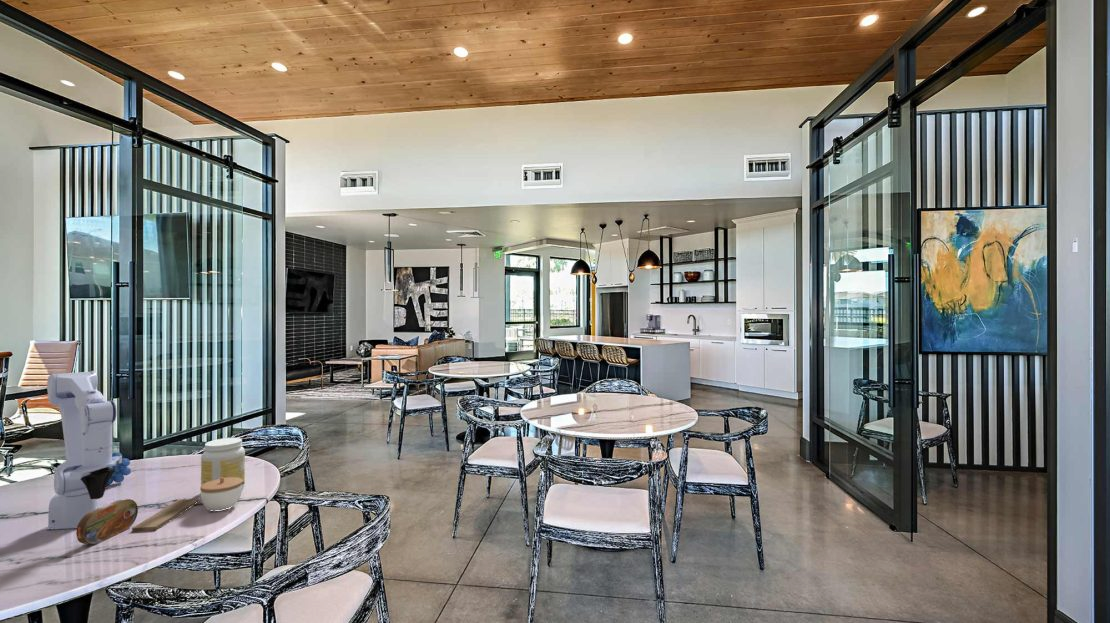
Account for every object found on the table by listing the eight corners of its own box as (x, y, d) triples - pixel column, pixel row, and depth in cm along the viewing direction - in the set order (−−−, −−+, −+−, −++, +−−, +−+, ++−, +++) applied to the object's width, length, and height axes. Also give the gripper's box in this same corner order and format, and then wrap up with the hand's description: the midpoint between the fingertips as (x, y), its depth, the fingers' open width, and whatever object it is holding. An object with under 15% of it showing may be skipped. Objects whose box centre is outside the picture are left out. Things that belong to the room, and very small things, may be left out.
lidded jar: (193, 517, 138) (193, 485, 139) (209, 503, 149) (209, 473, 149) (234, 513, 141) (235, 482, 141) (247, 499, 152) (248, 470, 152)
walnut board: (132, 531, 129) (132, 527, 129) (178, 503, 149) (178, 499, 149) (156, 530, 130) (156, 526, 130) (199, 502, 149) (199, 498, 149)
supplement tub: (248, 483, 167) (249, 435, 167) (239, 495, 155) (240, 444, 156) (207, 487, 162) (208, 438, 162) (194, 500, 151) (195, 448, 151)
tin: (84, 550, 119) (85, 517, 119) (72, 550, 119) (73, 516, 119) (138, 524, 134) (139, 494, 134) (128, 524, 134) (128, 494, 134)
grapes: (82, 492, 157) (82, 456, 157) (86, 486, 162) (87, 451, 162) (128, 485, 164) (129, 450, 164) (131, 479, 169) (132, 446, 169)
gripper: (92, 454, 119) (91, 507, 119) (134, 440, 134) (133, 487, 134) (60, 455, 118) (59, 509, 118) (106, 440, 133) (105, 489, 133)
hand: (96, 498), depth 126 cm, fingers closed
